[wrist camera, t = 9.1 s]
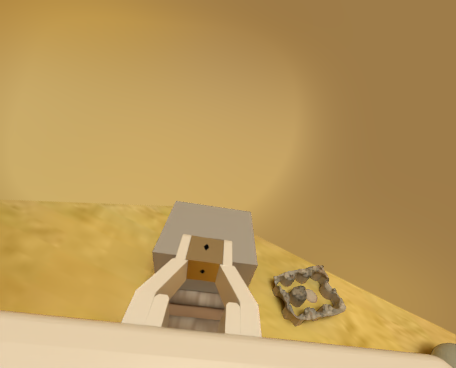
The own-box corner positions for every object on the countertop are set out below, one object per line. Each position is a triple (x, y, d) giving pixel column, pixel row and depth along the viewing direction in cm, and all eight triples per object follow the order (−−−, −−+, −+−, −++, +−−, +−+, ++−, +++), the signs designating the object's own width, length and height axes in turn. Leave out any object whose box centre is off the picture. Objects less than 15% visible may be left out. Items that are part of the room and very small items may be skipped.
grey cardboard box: (244, 296, 26) (257, 265, 21) (156, 286, 25) (152, 252, 21) (241, 241, 34) (250, 211, 30) (175, 233, 33) (176, 201, 29)
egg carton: (315, 275, 35) (324, 263, 33) (342, 319, 29) (355, 308, 26) (267, 280, 32) (273, 267, 30) (285, 330, 26) (295, 319, 24)
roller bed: (242, 409, 19) (265, 393, 14) (121, 400, 18) (103, 381, 13) (237, 242, 38) (246, 212, 33) (179, 234, 37) (179, 202, 32)
